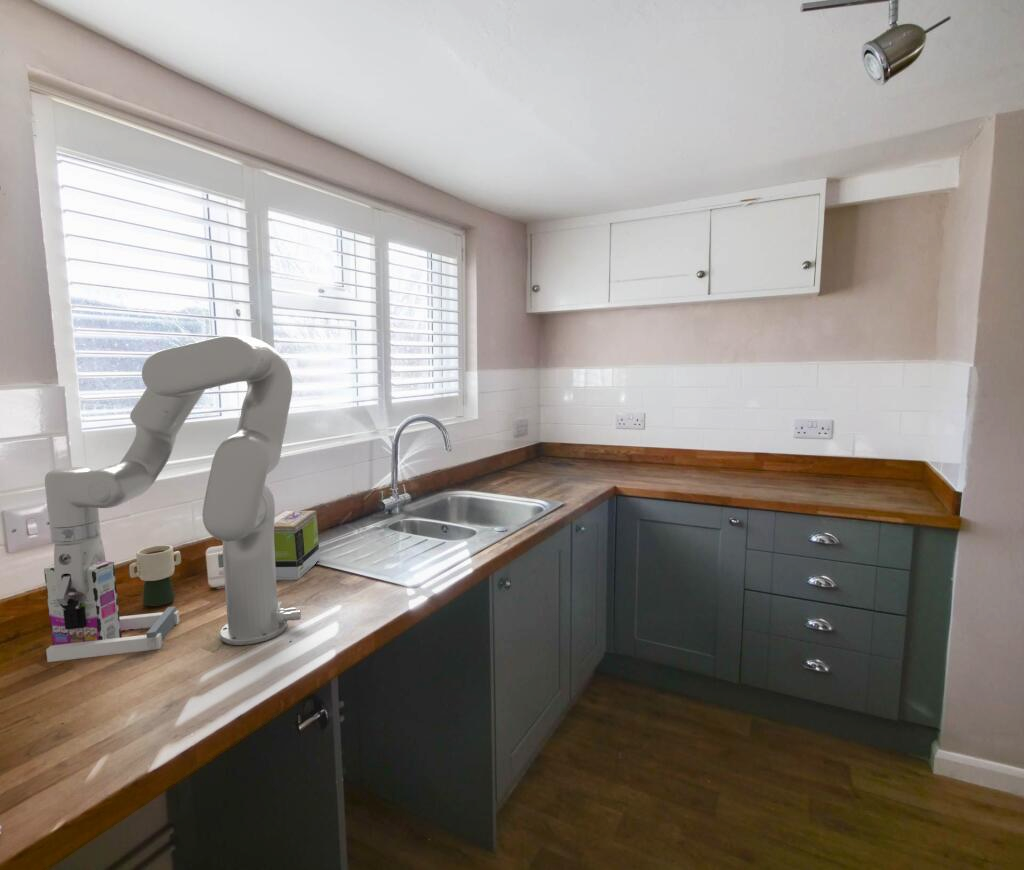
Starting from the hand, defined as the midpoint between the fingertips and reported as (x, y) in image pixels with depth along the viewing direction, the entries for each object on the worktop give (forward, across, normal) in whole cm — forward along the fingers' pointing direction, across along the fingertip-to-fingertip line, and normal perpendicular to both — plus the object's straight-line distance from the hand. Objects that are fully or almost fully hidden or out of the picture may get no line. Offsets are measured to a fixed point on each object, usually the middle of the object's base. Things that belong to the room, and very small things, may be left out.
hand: (85, 618), depth 109 cm
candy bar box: (+5, 0, 0) cm, 5 cm away
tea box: (+5, +32, -34) cm, 47 cm away
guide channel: (+5, 0, -5) cm, 7 cm away
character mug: (+5, +17, -7) cm, 20 cm away
